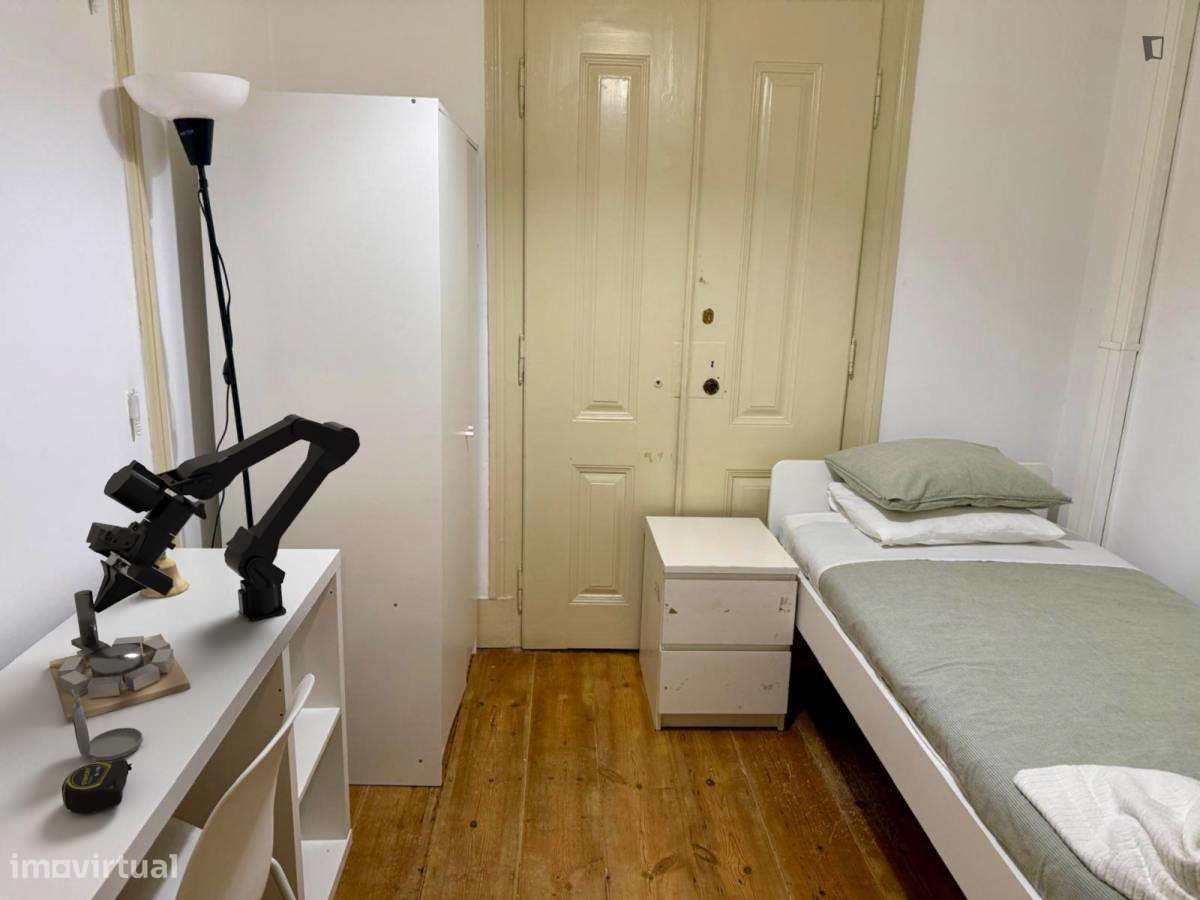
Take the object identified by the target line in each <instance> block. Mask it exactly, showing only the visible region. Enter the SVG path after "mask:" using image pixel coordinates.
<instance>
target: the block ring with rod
mask: <svg viewBox="0 0 1200 900" xmlns="http://www.w3.org/2000/svg"><path fill="white" fill-rule="evenodd" d="M93 596H94V594H93V591H92V590H90V589H84V590H83V589H82V590H78V591H77V592H75V593H74V595H73V597H74V604H75V609H76V617H77V624H78V631H79V636H78V637H76V638H74V639H70V641H71V644H70V645H72V646H73V647H75V648H77V649H79V650H77V651H76V655H77V657H72V658H67V659H66V660H65V662H64V663H63V665H62V666H61V668H60V669H59V670H58V674H59V680H60V683H61V689H62V690H64V691H66V692H68V693H70V694H72V692H71V689H73V690H74V692H75V693H76V695H79V696H80V695H82V694H85V693H87V692H88V695H89V698H98V697H108V696H118V695H120V694H121V692H122V690H123V688H124V686H123V679H122V676H111V677H101V678H92V679H91V680H90V678H89V677H87V676H85V675H83V674H82V672H83V670H84V669H85V667H88V666H90V658H91V657H92V656H93V655H94V654H95V653H97V652H98V651H100V650H103V649H105V648H108V647H110V646H116V645H124V644H131V645H137V646H139V647H141V649H142V652H143V654H145V655H147V656H149V657H151V658H153V660H152V662H151V664H148V665H145V666H143V667H141V668H139V669H136V670H134V671H132V672H130V673H127V674H125V675H124V677H125V684H126V687H127V688H129V689H131V690H133V691H136V690H139V689H141V688H143V687H145V686H147V685H149V684H151V683H154V682H156V681H158V680H160V674H162V673H168V672H169V670H170V668H171V666H172V663H173V661H174V657H175V655H174V648H171V643H170V642H167V641H166V640H165V641H166V642H165V641H163V640H161V639H158V638H156V637H154V638H151V639H149V640H146V641H144V638H145V637H144V635H137V636H127V637H125V636H124V637H116V638H115V639H114V641H113V643H112V644H108V643H106V642H104V641H102V640H100V637H99V630H98V625H97V623H98V622H97V616H96V612H95V608H94V602H95V600H94V597H93ZM173 655H174V656H173Z"/></svg>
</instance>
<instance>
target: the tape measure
mask: <svg viewBox="0 0 1200 900" xmlns="http://www.w3.org/2000/svg"><path fill="white" fill-rule="evenodd" d="M132 764H133V763H128V761H127V760H126V759H124V758H120V759H118V758H117V759H113V760H112V761H111V762H110V761H95V762H91V763H87V764H85V765H82V766H80V767H77V768H75V769H74V770H73V771H71V772H70V773H69V774H68V775H67V776H66V777H65V779H64V781H63V783H62V785H61V798H62V803H63V805H64V806H65V808H66V809H67V810H68V811H70V812H71V813H74V814H78V815H79V814H80V815H81V814H82V815H88V814H93V813H97V812H100V811H103V810H107V809H112V808H115V807H117V806H119V805H120V804H121V803H122V800H123V797H124V796H123V794H124V793H123V791H124V789H125V786H126V783H127V781H128V780H127V779H128V775H129V772H130V771H132V769H133V767H132Z"/></svg>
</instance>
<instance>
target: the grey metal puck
mask: <svg viewBox="0 0 1200 900" xmlns="http://www.w3.org/2000/svg"><path fill="white" fill-rule="evenodd" d="M111 646H112V645H111ZM90 665H91V672H92V678H101V677H111V676H122V679H123V683H124V682H125V677H124V675H125V674H127V673H130V672H132V671H134V670H136V669H139V668H141V667H143V666H144V660H143V652H142V649H141V647H139V646H137V645H131V644H124V645H116V646H112V647H108V648H105V649H103V650H100V651H98V652H97V653H95V654H94V655H93V656H92V657H91V658H90Z"/></svg>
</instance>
